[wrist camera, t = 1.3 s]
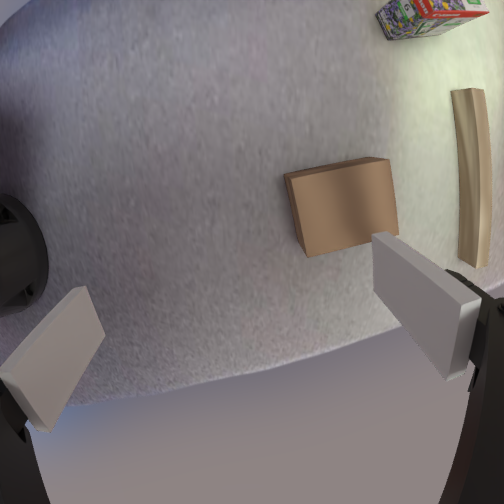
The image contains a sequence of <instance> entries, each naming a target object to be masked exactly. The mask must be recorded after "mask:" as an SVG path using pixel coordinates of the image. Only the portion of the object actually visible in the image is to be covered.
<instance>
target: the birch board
mask: <svg viewBox="0 0 504 504" xmlns="http://www.w3.org/2000/svg"><path fill="white" fill-rule="evenodd" d="M451 96H452V103H453V110H454V117H455V126H456V135H457V146H458V160H459V182H460V225H459V247H458V258H460V259H461V260H463V261H465V262H466V263H468V264H469V265H471V266H472V267H474V268H476V269H478V268H481V267H485V266H488V258H489V247H490V235H491V218H492V162H491V145H490V133H489V123H488V114H487V107H486V100H485V93H484V90H483V89H476V88H468V89H461V90H455V91H451Z"/></svg>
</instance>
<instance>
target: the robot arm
mask: <svg viewBox="0 0 504 504" xmlns="http://www.w3.org/2000/svg"><path fill="white" fill-rule="evenodd" d="M372 252H373V283H374V292H375V293H376V294H377V295H378V297H379V298H380V299H381V300H382V301H383V303H384V304H385V305H386V306H387V307H388V309H389V310H390V311H391V312H392V313H393V315H394V316H395V317H396V318H397V319H398V321H399V322H400V323H401V324H402V326H403V327H404V328H405V329H406V331H407V332H408V333H409V334H410V336H411V337H412V338H413V339H414V341H415V342H416V343H417V344H418V346H419V347H420V348H421V349H422V351H423V352H424V353H425V355H426V356H427V357H428V359H429V360H430V361H431V362H432V364H433V365H434V366H435V368H436V369H437V370H438V372H439V373H440V374H441V376H442V377H443V378H444V380H445V381H449V380H452V379H454V378H456V377H459V376H461V375H463V374H465V372H466V368H467V365H468V361H469V359H470V360H471V361H472V362H473V363H474V365H475V369H474V373H473V376H472V379H471V382H470V385H469V388H468V392H470V395H469V400H468V406H467V410H466V415H465V420H464V424H463V428H462V432H461V436H460V440H459V443H458V447H457V451H456V454H455V457H454V461H453V464H452V468H451V470H450V473H449V476H448V479H447V482H446V485H445V488H444V490H443V493H442V496H441V498H440V501H439V504H504V298H498V299H494V298H492V297H490V295H488V294H487V293H486V292H484V291H483V290H482V289H480V288H479V287H477V286H476V285H475V286H474V284H473V283H472V282H470V281H468V280H467V279H466V278H465V277H463V276H462V275H461V274H459V273H457V272H454V271H451V270H448V269H446V270H443V269H442V268H441V267H439V266H438V265H436V264H435V263H433V262H432V261H431V260H429V259H428V258H426V257H425V256H423V255H422V254H421V253H419V252H418V251H416V250H415V249H413V248H412V247H410V246H409V245H407V244H406V243H404V242H403V241H401V240H400V239H398V238H397V237H395V236H394V235H392V234H391V233H389V232H387V231H385V232H380V233H375V234H372ZM47 276H48V258H47V251H46V247H45V243H44V240H43V237H42V234H41V231H40V229H39V227H38V225H37V223H36V221H35V220H34V218H33V216H32V215H31V213H30V212H29V211H28V210H27V209H26V207H25V206H24V205H23V204H22V203H20V202H19V201H18V200H16V199H15V198H13V197H11V196H9V195H5V194H0V317H3V316H7V315H10V314H14V313H17V312H21V311H23V310H25V309H26V308H28V307H29V306H30V305H31V304H33V303H34V302H35V301H36V300H37V299H38V298H39V297H40V295H41V294H42V292H43V290H44V288H45V285H46V282H47ZM105 336H106V335H105V332H104V330H103V328H102V325H101V323H100V321H99V318H98V316H97V313H96V311H95V308H94V306H93V303H92V301H91V298H90V295H89V293H88V290H87V287H86V286H82V287H76V288H73V289H72V290H71V291H70V292H69V293H68V294H67V295H66V296H65V297H64V298H63V299H62V300H61V301H60V302H59V303H58V304H57V305H56V306H55V307H54V308H53V309H52V310H51V311H50V312H49V313H48V314H47V315H46V316H45V317H44V319H43V320H42V321H41V322H40V323H39V324H38V325H37V326H36V327H35V328H34V329H33V330H32V331H31V333H30V334H29V335H28V336H27V337H26V338H25V339H24V340H23V341H22V343H21V344H20V345H19V346H18V347H17V348H16V349H15V350H14V352H13V353H12V354H11V355H10V356H9V357H8V359H7V360H6V361H5V362H4V363H3V364H2V366H1V367H0V504H50V501H49V498H48V496H47V493H46V490H45V487H44V483H43V480H42V477H41V474H40V471H39V467H38V464H37V460H36V456H35V452H34V448H33V444H32V440H31V436H30V432H29V430H28V429H27V427H26V426H25V423H26V421H27V420H29V421H30V422H31V424H32V425H33V426H34V428H35V429H36V430H37V431H44V432H50V433H51V432H52V429H53V428H54V426H55V424H56V422H57V420H58V418H59V416H60V414H61V413H62V411H63V409H64V407H65V405H66V403H67V401H68V400H69V398H70V396H71V394H72V392H73V391H74V389H75V387H76V385H77V383H78V382H79V380H80V378H81V376H82V375H83V373H84V371H85V369H86V368H87V366H88V364H89V363H90V361H91V359H92V358H93V356H94V354H95V353H96V351H97V349H98V348H99V346H100V344H101V343H102V341H103V339H104V338H105Z"/></svg>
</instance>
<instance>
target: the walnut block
mask: <svg viewBox="0 0 504 504" xmlns="http://www.w3.org/2000/svg"><path fill="white" fill-rule="evenodd" d="M284 178H285V182H286V187H287V191H288V196H289V200H290V205H291V209H292V214H293V219H294V223H295V228H296V233H297V238H298V242H299V244H300V246H301V247H302V249H303V251H304V253H305V254H306V256H307V258H308V257H312V256H317V255H321V254H325V253H329V252H333V251H337V250H341V249H345V248H349V247H353V246H357V245H361V244H365V243H368V242H372V234H375V233H380V232H385V231H387V232H389V233H391V234H392V235H394V236H396V235H399V228H398V219H397V210H396V201H395V193H394V186H393V179H392V173H391V166H390V160H389V159H383V158H375V157H365V158H360V159H354V160H349V161H344V162H339V163H334V164H329V165H324V166H319V167H314V168H309V169H304V170H300V171H295V172H291V173H286V174H284Z"/></svg>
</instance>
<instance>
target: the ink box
mask: <svg viewBox="0 0 504 504" xmlns="http://www.w3.org/2000/svg"><path fill="white" fill-rule="evenodd" d="M487 13H489V10H488V8H487V6H486V4H485V2H484V0H391V1H389V2H388V3H387V4H386V5H385V6H383V7H382V8H381V9H380V10H379V11H378V12H377V13H376V14H375V15H376V16H377V18H378V20H379V22H380V24H381V26H382V29H383V31H384V33H385V35H386V37H387V39H388V40H396V39H404V38H412V37H422V36H431V35H440V34H443V33H445V32H447V31H449V30H451V29H453V28H455V27H457V26H460V25H462V24H464V23H466V22H468V21H471V20H473V19H475V18H477V17H480V16H482V15H485V14H487Z"/></svg>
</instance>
